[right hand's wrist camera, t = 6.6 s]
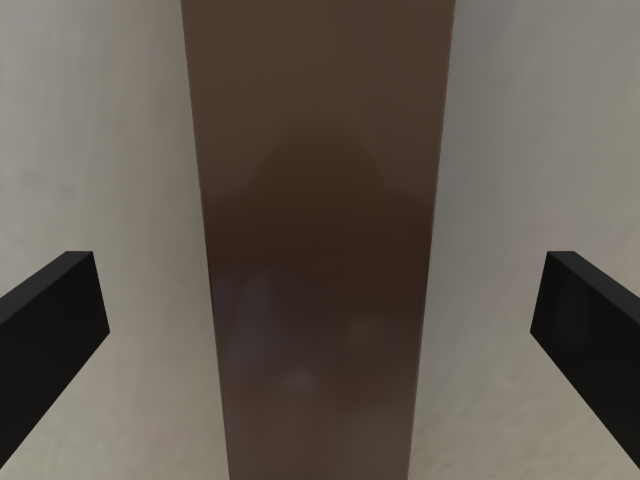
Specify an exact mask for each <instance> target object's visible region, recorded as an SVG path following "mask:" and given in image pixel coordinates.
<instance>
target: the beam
mask: <svg viewBox="0 0 640 480" xmlns="http://www.w3.org/2000/svg"><path fill="white" fill-rule="evenodd" d="M181 9H182V19H183V29H184V38H185V48H186V58H187V68H188V78H189V87H190V97H191V107H192V117H193V126H194V136H195V146H196V156H197V165H198V175H199V185H200V195H201V205H202V214H203V224H204V234H205V244H206V253H207V263H208V273H209V283H210V293H211V302H212V312H213V322H214V332H215V341H216V351H217V361H218V371H219V381H220V390H221V400H222V410H223V420H224V429H225V439H226V449H227V459H228V469H229V478H230V480H408V472H409V462H410V452H411V442H412V432H413V422H414V412H415V402H416V392H417V382H418V372H419V362H420V352H421V342H422V332H423V322H424V312H425V302H426V291H427V281H428V271H429V261H430V251H431V241H432V231H433V221H434V211H435V201H436V191H437V181H438V171H439V161H440V151H441V141H442V131H443V121H444V111H445V101H446V90H447V80H448V70H449V60H450V50H451V40H452V30H453V20H454V10H455V0H181Z"/></svg>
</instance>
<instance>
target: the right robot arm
mask: <svg viewBox="0 0 640 480" xmlns="http://www.w3.org/2000/svg"><path fill="white" fill-rule="evenodd" d="M109 333H110V329H109V325H108V320H107V315H106V311H105V306H104V302H103V297H102V292H101V288H100V283H99V278H98V274H97V269H96V265H95V260H94V255H93V251H66V252H64V253H63V254H62V255H60V256H59V257H57V258H56V259H55V260H53V261H52V262H50V263H49V264H48V265H46V266H45V267H43V268H42V269H41V270H39V271H38V272H36V273H35V274H33V275H32V276H31V277H29V278H28V279H26V280H25V281H24V282H22V283H21V284H19V285H18V286H17V287H15V288H14V289H12V290H11V291H10V292H8V293H7V294H5V295H4V296H3V297H1V298H0V469H1V468H2V467H3V465H4V464H5V463H6V462H7V460H8V459H9V458H10V457H11V455H12V454H13V453H14V452H15V450H16V449H17V448H18V447H19V445H20V444H21V443H22V442H23V440H24V439H25V438H26V437H27V435H28V434H29V433H30V432H31V430H32V429H33V428H34V427H35V425H36V424H37V423H38V422H39V420H40V419H41V418H42V417H43V415H44V414H45V413H46V412H47V410H48V409H49V408H50V407H51V406H52V404H53V403H54V402H55V401H56V399H57V398H58V397H59V396H60V394H61V393H62V392H63V391H64V389H65V388H66V387H67V386H68V384H69V383H70V382H71V381H72V379H73V378H74V377H75V376H76V374H77V373H78V372H79V371H80V369H81V368H82V367H83V366H84V364H85V363H86V362H87V361H88V359H89V358H90V357H91V356H92V354H93V353H94V352H95V351H96V349H97V348H98V347H99V346H100V344H101V343H102V342H103V341H104V339H105V338H106V337H107V336H108V334H109ZM530 333H531V334H532V336H533V337H534V338H535V339H536V341H537V342H538V343H539V344H540V346H541V347H542V348H543V349H544V351H545V352H546V353H547V354H548V356H549V357H550V358H551V359H552V361H553V362H554V363H555V364H556V366H557V367H558V368H559V369H560V371H561V372H562V373H563V374H564V376H565V377H566V378H567V379H568V381H569V382H570V383H571V384H572V386H573V387H574V388H575V389H576V391H577V392H578V393H579V394H580V396H581V397H582V398H583V399H584V401H585V402H586V403H587V404H588V406H589V407H590V408H591V409H592V410H593V412H594V413H595V414H596V415H597V417H598V418H599V419H600V420H601V422H602V423H603V424H604V425H605V427H606V428H607V429H608V430H609V432H610V433H611V434H612V435H613V437H614V438H615V439H616V440H617V442H618V443H619V444H620V445H621V447H622V448H623V449H624V450H625V452H626V453H627V454H628V455H629V457H630V458H631V459H632V460H633V462H634V463H635V464H636V465H637V467H638V468H639V469H640V298H639V297H637V296H636V295H635V294H633V293H632V292H630V291H629V290H628V289H626V288H625V287H623V286H622V285H621V284H619V283H618V282H616V281H615V280H614V279H612V278H611V277H609V276H608V275H607V274H605V273H604V272H602V271H601V270H599V269H598V268H597V267H595V266H594V265H592V264H591V263H590V262H588V261H587V260H585V259H584V258H583V257H581V256H580V255H578V254H577V253H576V252H574V251H547V255H546V260H545V265H544V269H543V274H542V278H541V283H540V288H539V292H538V297H537V302H536V306H535V311H534V315H533V320H532V325H531V329H530Z"/></svg>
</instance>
